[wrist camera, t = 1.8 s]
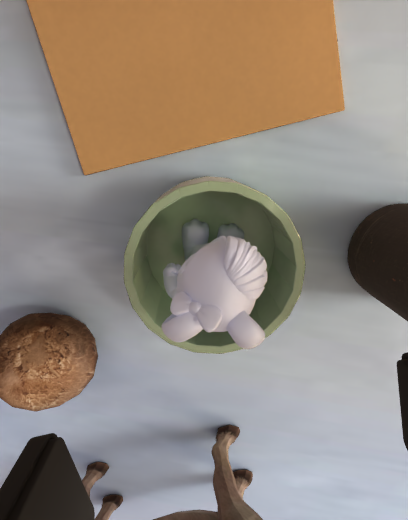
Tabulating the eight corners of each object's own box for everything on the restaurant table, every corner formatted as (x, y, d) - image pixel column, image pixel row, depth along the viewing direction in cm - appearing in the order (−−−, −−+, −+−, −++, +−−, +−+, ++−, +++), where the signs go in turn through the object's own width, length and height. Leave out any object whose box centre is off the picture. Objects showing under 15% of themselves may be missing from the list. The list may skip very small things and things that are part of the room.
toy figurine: (258, 216, 27) (306, 257, 15) (245, 290, 29) (280, 378, 17) (172, 205, 26) (154, 240, 15) (165, 281, 28) (143, 365, 17)
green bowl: (266, 160, 26) (289, 160, 20) (290, 296, 29) (316, 332, 23) (122, 196, 26) (99, 207, 20) (161, 325, 30) (152, 369, 23)
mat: (321, -86, 22) (323, -91, 21) (342, 110, 25) (344, 109, 25) (26, -4, 22) (23, -7, 22) (85, 175, 26) (84, 175, 25)
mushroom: (49, 431, 29) (19, 442, 23) (-7, 363, 30) (-50, 357, 24) (121, 361, 31) (111, 355, 25) (66, 301, 33) (44, 282, 27)
